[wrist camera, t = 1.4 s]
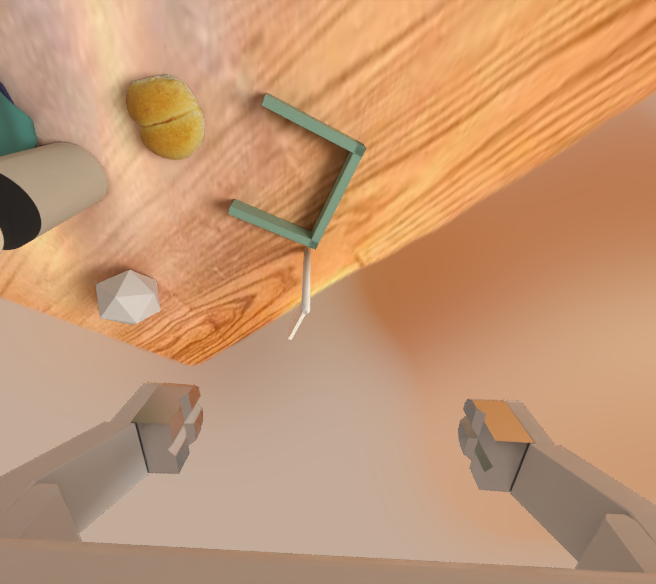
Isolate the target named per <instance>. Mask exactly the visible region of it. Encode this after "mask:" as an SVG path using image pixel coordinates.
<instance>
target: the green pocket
mask: <svg viewBox="0 0 656 584" xmlns="http://www.w3.org/2000/svg"><path fill="white" fill-rule="evenodd" d="M262 106H264V107H266V108H268V109H269V110H271V111H273V112H275V113H277V114H279V115H281V116H283V117H285V118H287V119H289V120H291V121H293V122H294V123H296V124H298V125H300V126H302V127H304V128H306V129H308V130H310V131H312V132H314V133H316V134H318V135H319V136H321V137H323V138H325V139H327V140H329V141H331V142H333V143H335V144H337V145H339V146H341V147H343V148H344V149H346V150H348V151H350V152H349V154H348V156H347V158H346V160H345V162H344V164H343V166H342V168H341V171H340V173H339V175H338V177H337V179H336V181H335V183H334V185H333V187H332V189H331V191H330V194H329V196H328V198H327V200H326V202H325V204H324V206H323V208H322V210H321V212H320V215H319V217H318V219H317V221H316V223H315V225H314V227H313V229H312V231H309V230H307V229H304V228H302V227H300V226H297V225H295V224H293V223H290V222H288V221H285V220H283V219H281V218H278V217H276V216H274V215H271V214H269V213H267V212H264V211H262V210H259V209H257V208H255V207H252V206H250V205H248V204H245V203H243V202H241V201H238V200H236V199H234V201H233V203H232V204H231V206H230V209H229V212H228V214H229V215H232V216H234V217H237V218H239V219H242V220H244V221H247V222H249V223H251V224H254V225H256V226H259V227H261V228H264V229H266V230H269V231H271V232H274V233H276V234H278V235H281V236H283V237H286V238H288V239H291V240H293V241H296V242H298V243H300V244H303V245H305V246H306V247H305V248H304V262H303V284H302V301H301V303H300V305H299V307H298V309H297V311H296V312H295V314H294V316H293V318H292V320H291V322H290V325H289V337H288V339H290V340H292V338H293V336H294V334H295V332H296V331H297V329H298V327H299V325H300V323H301V321H302V320H303V318H304V316H305V314H308V313H309V312H310V248H313V249H315V250H316V248H317V246H318V244H319V242H320V240H321V238H322V236H323V234H324V232H325V230H326V228H327V226H328V224H329V222H330V220H331V218H332V216H333V214H334V212H335V210H336V208H337V206H338V204H339V202H340V200H341V198H342V196H343V194H344V192H345V190H346V188H347V186H348V184H349V182H350V180H351V178H352V176H353V174H354V172H355V170H356V168H357V166H358V164H359V162H360V160H361V158H362V156H363V154H364V152H365V150H366V147H365V146H364V144H362V143H360V142H358V141H357V140H355V139H353V138H351V137H349V136H347V135H345V134H344V133H342V132H340V131H338V130H336V129H334V128H332V127H330V126H329V125H327V124H325V123H323V122H321V121H319V120H317V119H315V118H314V117H312V116H310V115H308V114H306V113H304V112H302V111H300V110H299V109H297V108H295V107H293V106H291V105H289V104H287V103H285V102H284V101H282V100H280V99H278V98H276V97H274V96H272V95H270V94H269V93H268V94H265V97H264V100H263V103H262Z"/></svg>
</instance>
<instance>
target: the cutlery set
mask: <svg viewBox="0 0 656 584" xmlns="http://www.w3.org/2000/svg"><path fill="white" fill-rule="evenodd" d="M36 144H37V137H36V133H35V129H34V124H33V121H32V120H31V118H30V117H29V116H27V115H26V114H25V113H24V112H22V111H21V110H20V109H19V108H17V107H16V106H15V105H14V103H13V101H12V99H11V98H10V96H9V94H8V92H7V90H6V89H5V87H4V85H3V84H2V83H1V82H0V156H4V155H8V154H12V153H16V152H20V151H24V150H28V149H32V148H34V147H35V146H36Z"/></svg>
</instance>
